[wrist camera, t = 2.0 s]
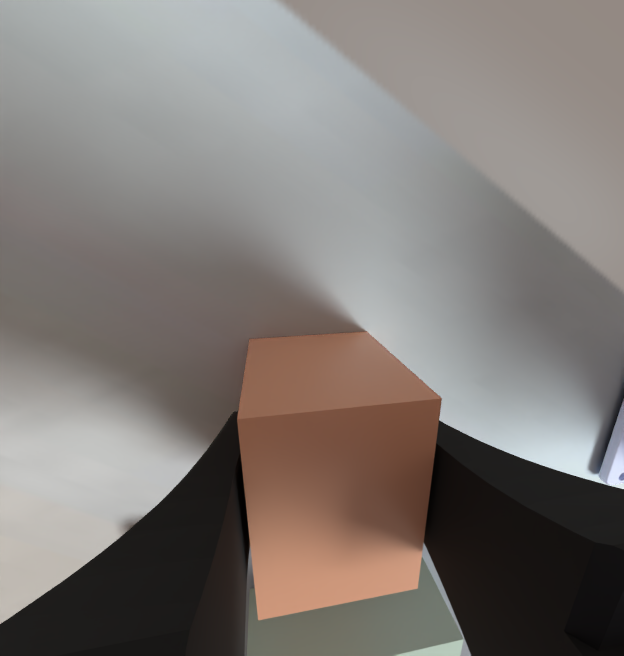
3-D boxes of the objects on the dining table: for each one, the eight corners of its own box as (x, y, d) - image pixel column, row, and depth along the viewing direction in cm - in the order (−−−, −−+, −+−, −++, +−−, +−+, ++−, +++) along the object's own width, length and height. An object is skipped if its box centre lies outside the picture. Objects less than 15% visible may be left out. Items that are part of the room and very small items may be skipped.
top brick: (366, 331, 11) (441, 398, 6) (361, 460, 13) (417, 588, 8) (249, 339, 11) (237, 419, 6) (260, 473, 12) (258, 620, 8)
